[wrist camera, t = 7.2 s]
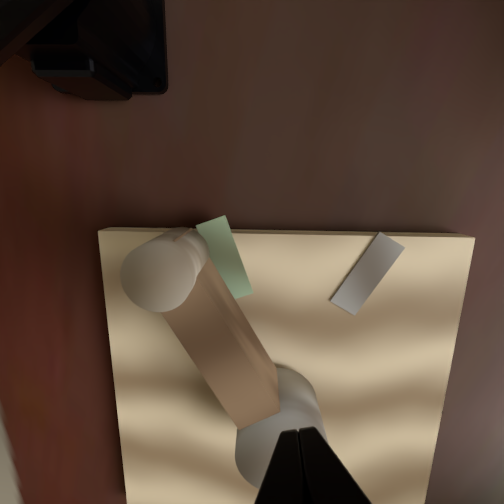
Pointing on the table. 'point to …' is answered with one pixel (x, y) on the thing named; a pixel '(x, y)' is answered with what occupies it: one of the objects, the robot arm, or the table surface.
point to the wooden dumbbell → (220, 344)
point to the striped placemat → (295, 356)
